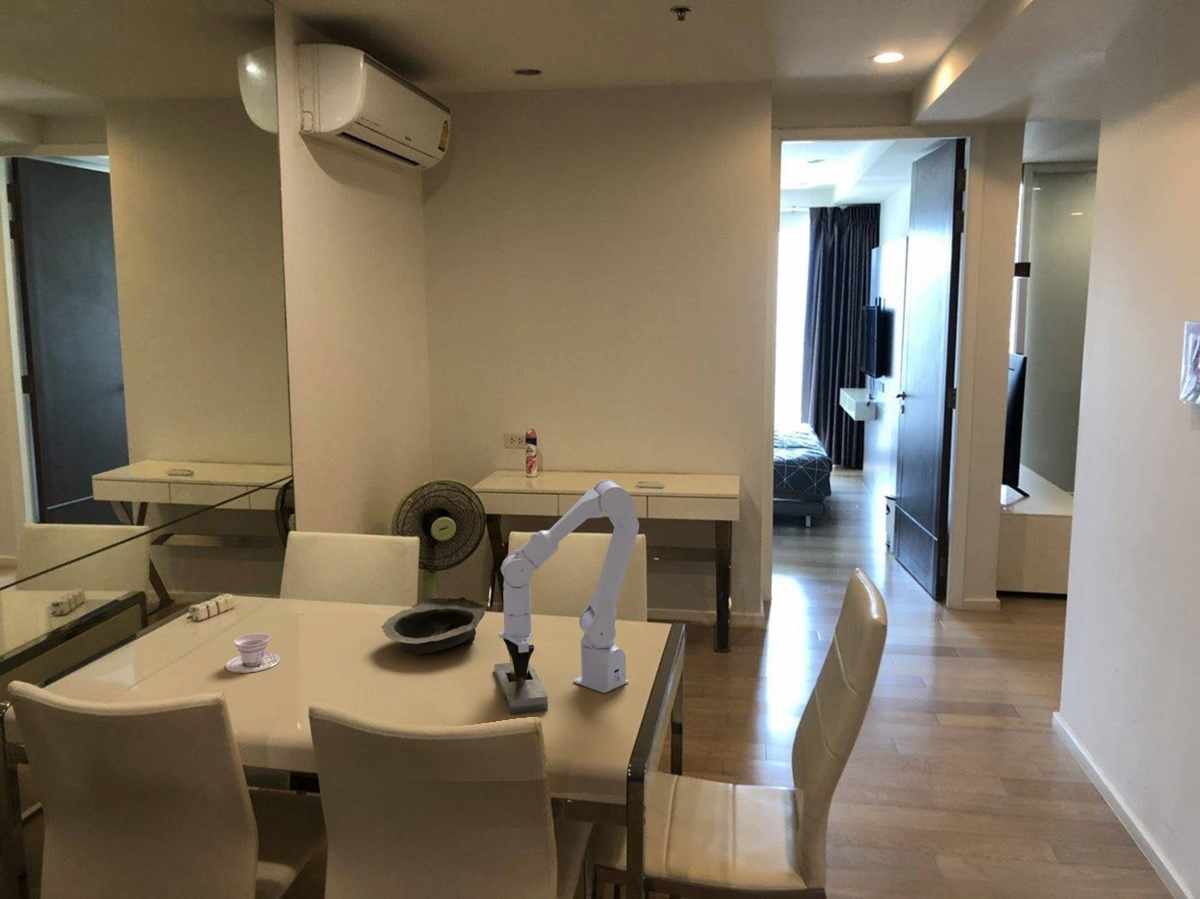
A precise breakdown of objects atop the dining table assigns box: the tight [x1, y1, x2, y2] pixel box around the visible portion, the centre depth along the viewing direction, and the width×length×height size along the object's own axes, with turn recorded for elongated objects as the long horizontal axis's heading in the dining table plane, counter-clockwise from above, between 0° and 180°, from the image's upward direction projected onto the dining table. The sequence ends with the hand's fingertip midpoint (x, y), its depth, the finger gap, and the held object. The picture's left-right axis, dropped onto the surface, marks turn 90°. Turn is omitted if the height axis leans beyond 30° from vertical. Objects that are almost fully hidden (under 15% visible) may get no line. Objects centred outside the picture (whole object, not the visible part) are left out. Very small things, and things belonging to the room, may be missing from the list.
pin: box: [509, 655, 528, 682], centre depth 198 cm, size 4×4×8 cm
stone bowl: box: [380, 597, 486, 656], centre depth 225 cm, size 25×25×9 cm
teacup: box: [225, 632, 281, 674], centre depth 215 cm, size 12×12×6 cm
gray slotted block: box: [493, 662, 549, 716], centre depth 198 cm, size 24×8×3 cm, turn 14°
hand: (519, 673), depth 198 cm, fingers closed on pin, 4 cm apart
